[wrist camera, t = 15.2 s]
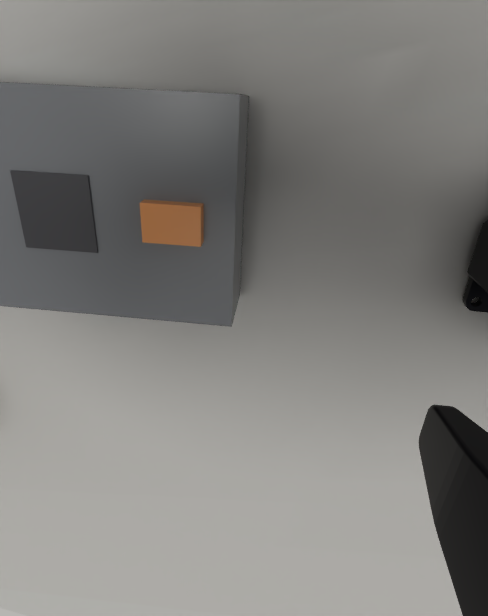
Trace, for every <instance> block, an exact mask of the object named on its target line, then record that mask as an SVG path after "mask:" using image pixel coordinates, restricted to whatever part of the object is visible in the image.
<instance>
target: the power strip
mask: <svg viewBox="0 0 488 616" xmlns="http://www.w3.org/2000/svg"><path fill="white" fill-rule="evenodd" d="M248 103H249V96H246V95H242V94H230V93H210V92H190V91H170V90H150V89H130V88H110V87H90V86H70V85H50V84H30V83H10V82H0V306H8V307H19V308H30V309H41V310H52V311H64V312H75V313H86V314H97V315H108V316H120V317H131V318H142V319H153V320H164V321H175V322H187V323H198V324H209V325H220V326H231V327H232V323H233V319H234V315H235V311H236V307H237V303H238V299H239V296H240V279H241V257H242V235H243V213H244V191H245V169H246V147H247V125H248Z"/></svg>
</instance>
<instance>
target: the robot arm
mask: <svg viewBox="0 0 488 616" xmlns="http://www.w3.org/2000/svg"><path fill="white" fill-rule="evenodd" d="M468 274H469V275H470V278H469V281H468V284H467V287H466V290H465V293H464V296H463V303H464V305H465V306H466V307H467V308H468V309H469V310H472V311H479V312H488V220H487V221H486V222H485V223H483V226H482V229H481V232H480V235H479V238H478V241H477V244H476V247H475V250H474V253H473V256H472V260H471V263H470V266H469V269H468ZM476 297H479V299H478V301H477V302H475V303H471V301H472V299H474V298H476ZM419 450H420V455H421V460H422V465H423V470H424V475H425V480H426V485H427V490H428V495H429V500H430V505H431V510H432V515H433V519H434V524H435V527H436V531H437V534H438V538H439V541H440V544H441V547H442V551H443V554H444V557H445V560H446V563H447V567H448V570H449V573H450V576H451V579H452V582H453V586H454V589H455V592H456V595H457V598H458V602H459V605H460V608H461V611H462V614H463V616H488V432H486V431H485V430H484V429H482V428H481V427H480V426H478V425H477V424H476V423H475V422H473V421H472V420H471V419H469V418H468V417H467V416H465V415H464V414H463V413H461V412H460V411H459V410H458V409H456V408H454V407H452V406H442V405H432V406H430V408H429V409H428V412H427V415H426V418H425V421H424V424H423V427H422V430H421V433H420V436H419Z"/></svg>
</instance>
